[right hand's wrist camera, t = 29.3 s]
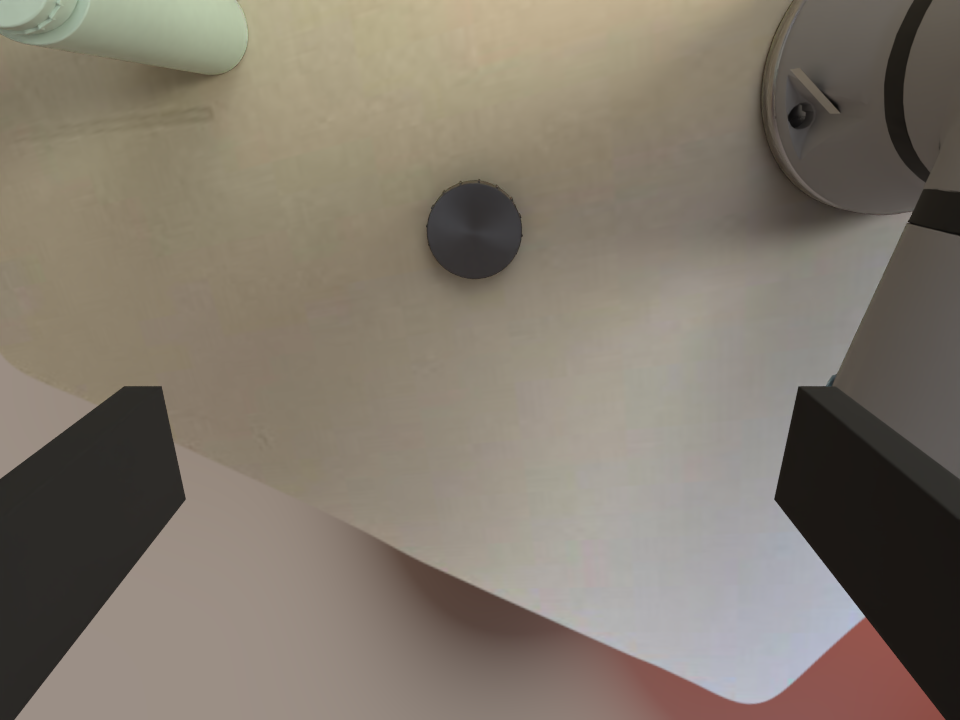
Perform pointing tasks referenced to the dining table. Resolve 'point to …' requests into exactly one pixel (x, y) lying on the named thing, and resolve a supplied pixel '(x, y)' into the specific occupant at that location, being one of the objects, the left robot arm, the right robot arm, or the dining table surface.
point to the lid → (474, 229)
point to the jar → (134, 30)
